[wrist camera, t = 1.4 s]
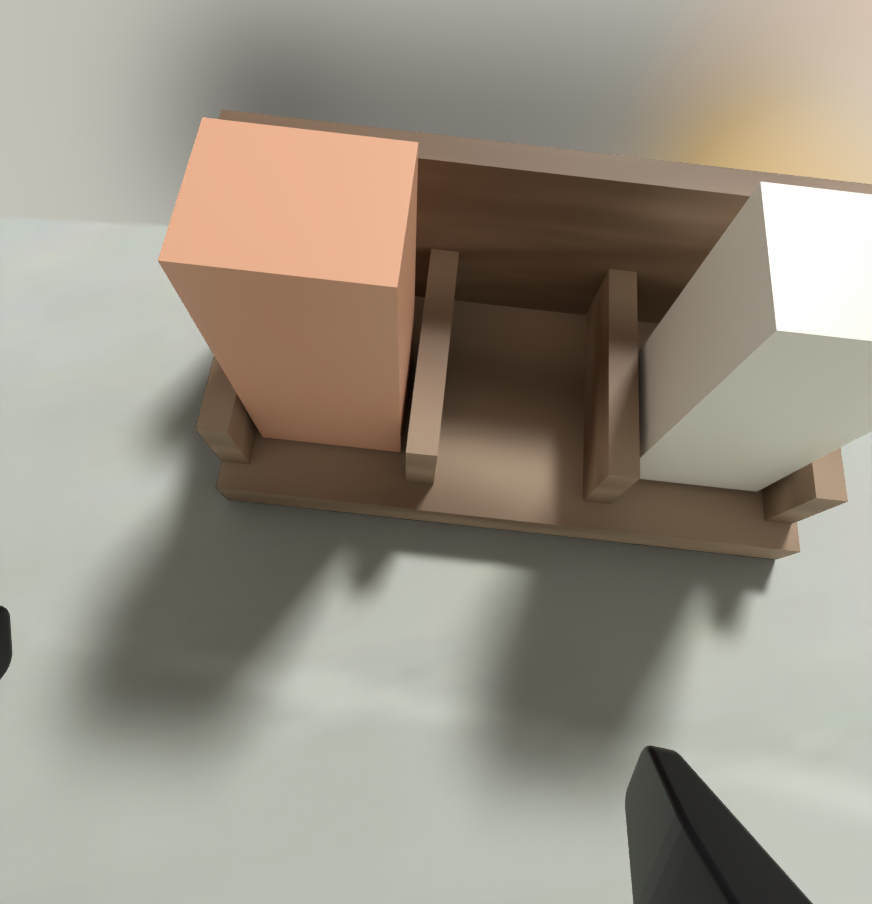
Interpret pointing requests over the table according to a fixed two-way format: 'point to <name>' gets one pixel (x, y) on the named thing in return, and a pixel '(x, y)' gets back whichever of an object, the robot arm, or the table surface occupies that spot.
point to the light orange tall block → (302, 275)
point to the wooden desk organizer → (534, 357)
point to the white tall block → (764, 346)
